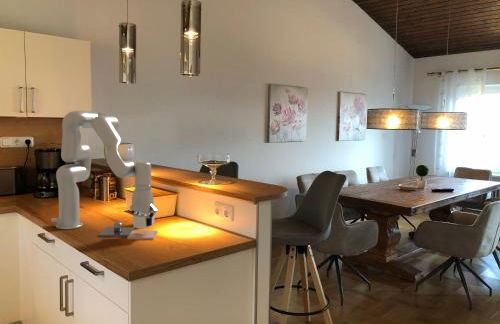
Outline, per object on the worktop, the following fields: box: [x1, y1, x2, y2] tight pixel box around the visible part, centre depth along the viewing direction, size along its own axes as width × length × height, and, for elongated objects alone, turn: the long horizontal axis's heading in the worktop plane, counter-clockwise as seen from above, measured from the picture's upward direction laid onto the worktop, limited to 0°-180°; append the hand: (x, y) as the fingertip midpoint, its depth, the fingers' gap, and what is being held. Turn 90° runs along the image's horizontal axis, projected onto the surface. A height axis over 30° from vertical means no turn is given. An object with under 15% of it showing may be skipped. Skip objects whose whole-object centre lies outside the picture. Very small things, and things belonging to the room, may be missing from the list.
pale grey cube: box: [132, 213, 154, 230], centre depth 198 cm, size 6×6×6 cm
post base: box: [98, 221, 136, 238], centre depth 203 cm, size 14×14×5 cm
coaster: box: [126, 230, 158, 241], centre depth 199 cm, size 12×12×1 cm
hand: (143, 224), depth 199 cm, fingers closed on pale grey cube, 6 cm apart
